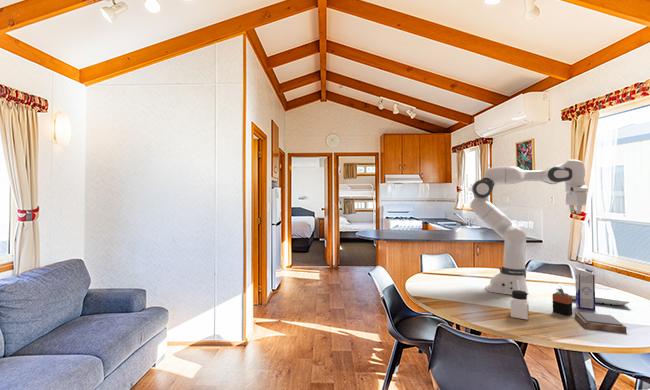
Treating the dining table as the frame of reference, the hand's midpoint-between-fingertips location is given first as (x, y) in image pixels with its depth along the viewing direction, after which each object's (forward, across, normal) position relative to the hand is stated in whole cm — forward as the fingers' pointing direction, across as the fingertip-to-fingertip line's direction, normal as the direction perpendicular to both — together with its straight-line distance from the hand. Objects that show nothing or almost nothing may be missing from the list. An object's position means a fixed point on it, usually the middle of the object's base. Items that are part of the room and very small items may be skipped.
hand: (575, 213), depth 187 cm
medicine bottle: (+48, +43, -35) cm, 73 cm away
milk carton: (+47, +19, -2) cm, 51 cm away
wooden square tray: (+47, +44, -5) cm, 65 cm away
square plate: (+48, -5, +8) cm, 49 cm away
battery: (+48, +32, -15) cm, 59 cm away
